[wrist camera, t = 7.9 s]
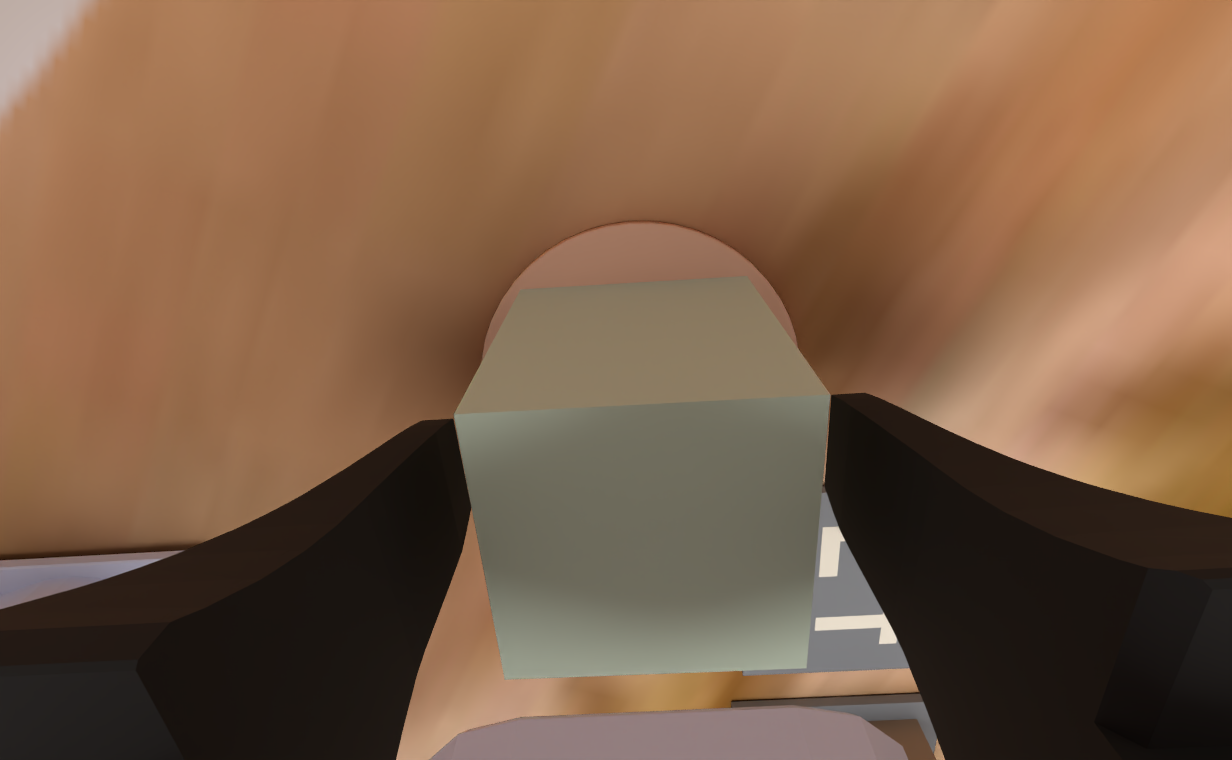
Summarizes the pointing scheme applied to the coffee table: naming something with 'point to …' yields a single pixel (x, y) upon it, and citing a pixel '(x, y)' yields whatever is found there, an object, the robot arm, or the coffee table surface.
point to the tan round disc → (636, 264)
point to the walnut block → (907, 737)
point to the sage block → (646, 480)
